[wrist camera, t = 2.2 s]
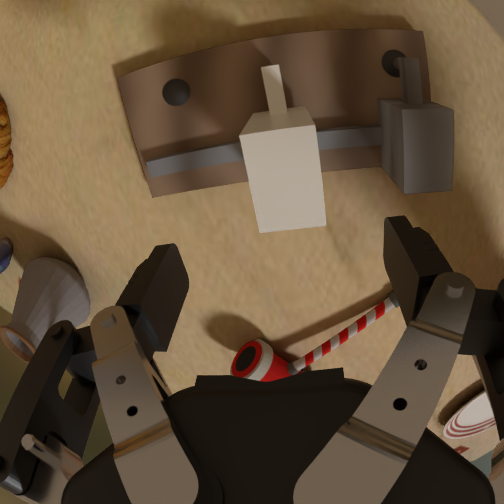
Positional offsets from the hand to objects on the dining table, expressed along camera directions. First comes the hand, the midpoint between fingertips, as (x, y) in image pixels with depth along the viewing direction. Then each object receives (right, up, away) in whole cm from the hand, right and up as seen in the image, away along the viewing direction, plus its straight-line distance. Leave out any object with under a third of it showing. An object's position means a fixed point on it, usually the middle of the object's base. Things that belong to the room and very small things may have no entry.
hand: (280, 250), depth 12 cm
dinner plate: (+54, -34, +38) cm, 74 cm away
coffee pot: (-23, -5, +28) cm, 36 cm away
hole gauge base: (+1, +12, +13) cm, 18 cm away
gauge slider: (+1, +10, +12) cm, 16 cm away
